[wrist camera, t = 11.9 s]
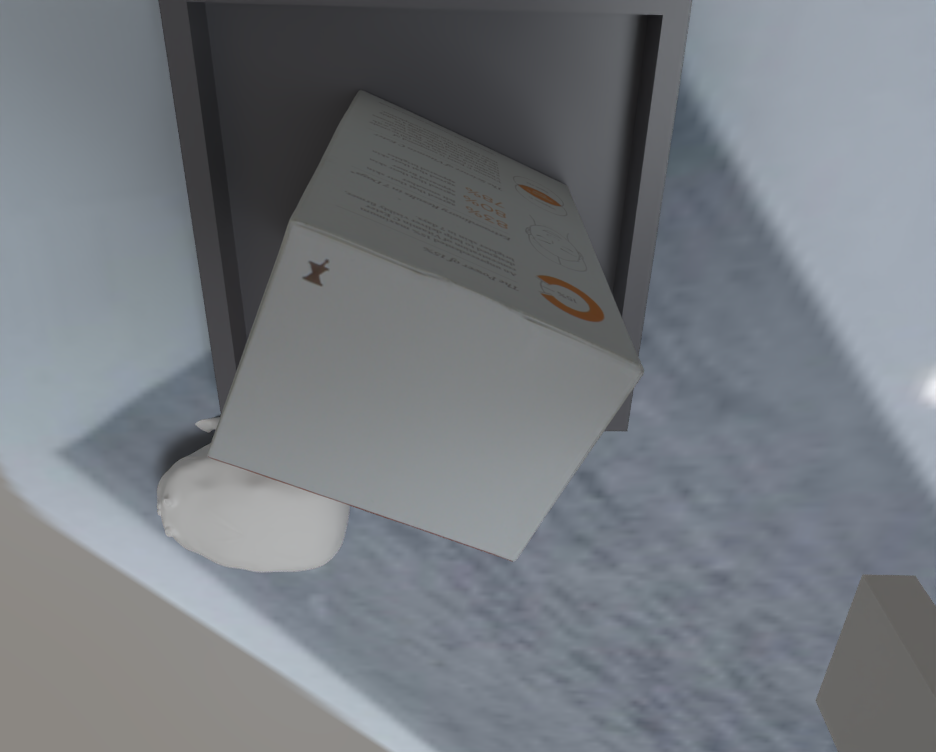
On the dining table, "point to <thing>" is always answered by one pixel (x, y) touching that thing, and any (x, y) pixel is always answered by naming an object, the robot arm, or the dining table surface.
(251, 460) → the small box
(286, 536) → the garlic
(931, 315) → the dining table surface
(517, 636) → the dining table surface
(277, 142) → the holder
